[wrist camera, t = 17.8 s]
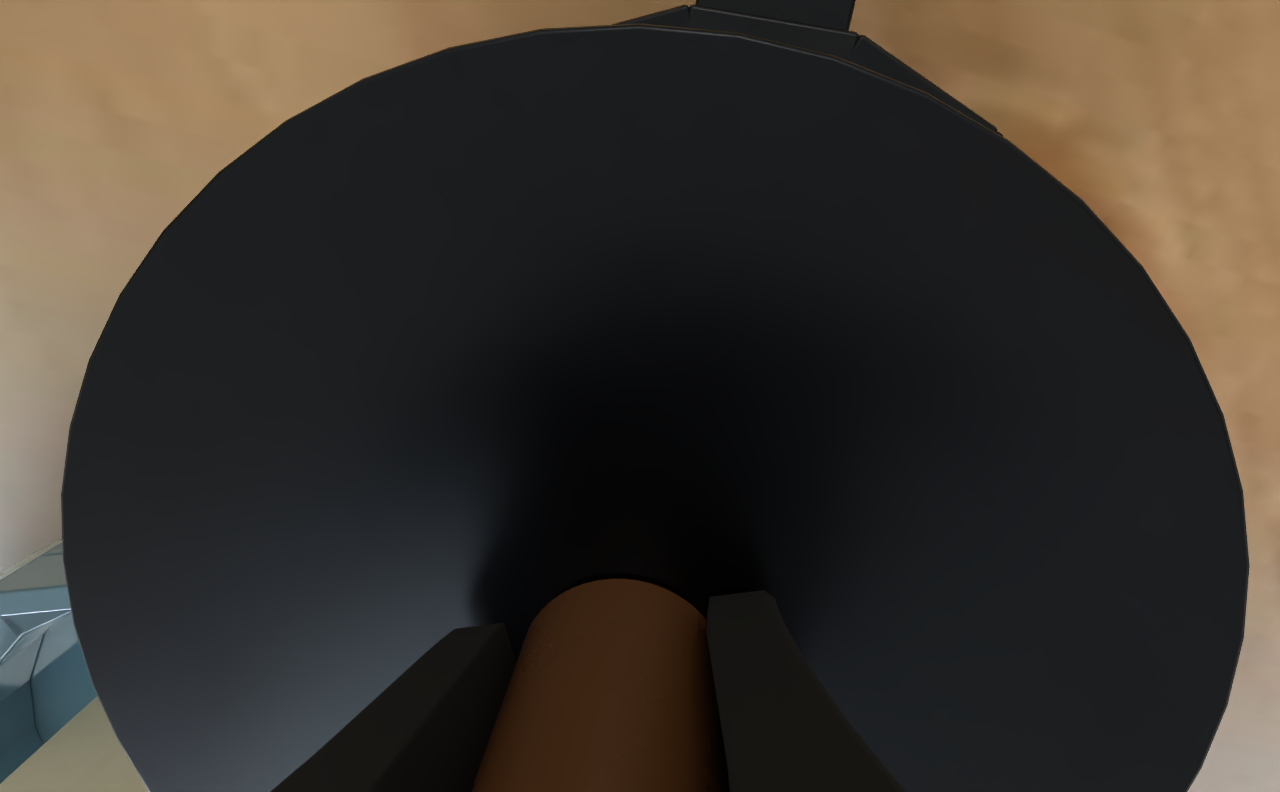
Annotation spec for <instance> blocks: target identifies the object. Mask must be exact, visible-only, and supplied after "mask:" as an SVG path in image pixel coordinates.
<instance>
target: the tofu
mask: <svg viewBox="0 0 1280 792" xmlns="http://www.w3.org/2000/svg"><path fill="white" fill-rule="evenodd" d="M0 792H149V790H148V789H147V787H146V785H145V784H144V782H143V781H142V779H141V777H140V776H139V774H138V772H137V771H136V769H135V767H134V766H133V764H132V763H131V761H130V759H129V758H128V756H127V754H126V753H125V751H124V749H123V748H122V746H121V745H120V743H119V741H118V739H117V737H116V735H115V733H114V731H113V729H112V726H111V724H110V722H109V720H108V718H107V715H106V713H105V711H104V709H103V707H102V704H101V702H100V700H99V698H98V696H97V697H95V698H94V699H93V700H92V701H91V702H90V703H89V704H88V705H87V706H85V707H84V708H83V709H82V710H81V711H80V712H79V713H78V714H77V715H76V716H74V717H73V718H72V719H71V720H70V721H69V722H68V723H67V724H66V725H65V726H63V727H62V728H61V729H60V730H59V731H58V732H57V733H56V734H55V735H54V736H52V737H51V738H50V739H49V740H48V741H47V742H46V743H45V744H44V745H42V746H41V747H40V748H39V749H38V750H37V751H36V752H35V753H34V754H33V755H31V756H30V757H29V758H28V759H27V760H26V761H25V762H24V763H23V764H22V765H20V766H19V767H18V768H17V769H16V770H15V771H14V772H13V773H12V774H10V775H9V776H8V777H7V778H6V779H5V780H4V781H3V782H2V783H1V784H0Z"/></svg>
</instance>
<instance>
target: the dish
mask: <svg viewBox="0 0 1280 792" xmlns="http://www.w3.org/2000/svg"><path fill="white" fill-rule="evenodd" d="M95 697H97V693H96V691H95V689H94V687H93V685H92V682H91V679H90V676H89V672H88V669H87V666H86V663H85V659H84V656H83V653H82V650H81V647H80V643H79V640H78V637H77V634H76V630H75V627H74V624H73V619H72V613H71V607H70V601H69V595H68V589H67V583H66V577H65V571H64V565H63V552H62V539H61V540H59V541H57V542H55V543H53V544H51V545H49V546H47V547H45V548H43V549H41V550H39V551H36V552H34V553H32V554H31V555H29V556H27V557H26V558H24V559H22V560H21V561H19V562H18V563H16V564H14V565H13V566H11V567H9V568H8V569H6V570H4V571H3V572H1V573H0V784H1V783H2V782H3V781H4V780H5V779H6V778H7V777H8V776H9V775H10V774H12V773H13V772H14V771H15V770H16V769H17V768H18V767H19V766H20V765H22V764H23V763H24V762H25V761H26V760H27V759H28V758H29V757H30V756H31V755H33V754H34V753H35V752H36V751H37V750H38V749H39V748H40V747H41V746H42V745H44V744H45V743H46V742H47V741H48V740H49V739H50V738H51V737H52V736H54V735H55V734H56V733H57V732H58V731H59V730H60V729H61V728H62V727H63V726H65V725H66V724H67V723H68V722H69V721H70V720H71V719H72V718H73V717H74V716H76V715H77V714H78V713H79V712H80V711H81V710H82V709H83V708H84V707H85V706H87V705H88V704H89V703H90V702H91V701H92V700H93V699H94V698H95Z"/></svg>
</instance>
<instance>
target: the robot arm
mask: <svg viewBox="0 0 1280 792" xmlns="http://www.w3.org/2000/svg"><path fill="white" fill-rule="evenodd" d="M706 632H707V639H708V645H709V652H710V658H711V665H712V671H713V677H714V684H715V690H716V696H717V703H718V709H719V715H720V722H721V728H722V735H723V741H724V747H725V754H726V760H727V766H728V776H729V787H730V792H906V791H905V789H904V788H903V787H902V786H901V785H900V784H899V783H898V781H897V780H896V779H895V778H894V777H893V775H892V774H891V773H890V772H889V771H888V769H887V768H886V767H885V766H884V765H883V763H882V762H881V761H880V760H879V759H878V757H877V756H876V755H875V754H874V753H873V751H872V750H871V749H870V748H869V747H868V745H867V744H866V743H865V742H864V740H863V739H862V738H861V736H860V735H859V734H858V733H857V731H856V730H855V729H854V727H853V726H852V725H851V724H850V722H849V721H848V720H847V718H846V717H845V715H844V714H843V713H842V711H841V710H840V709H839V707H838V706H837V704H836V703H835V702H834V700H833V699H832V697H831V696H830V695H829V693H828V692H827V690H826V689H825V688H824V686H823V685H822V683H821V682H820V681H819V679H818V678H817V676H816V675H815V673H814V672H813V670H812V669H811V667H810V666H809V664H808V663H807V661H806V659H805V658H804V656H803V654H802V653H801V651H800V650H799V648H798V646H797V645H796V643H795V641H794V640H793V638H792V636H791V634H790V632H789V630H788V629H787V627H786V625H785V623H784V621H783V619H782V616H781V614H780V612H779V609H778V607H777V604H776V600H775V598H774V597H773V596H771V595H770V594H768V593H767V592H766V591H764V590H761V591H753V592H745V593H737V594H729V595H721V596H713V597H709V605H708V613H707V628H706ZM515 665H516V663H515V659H514V655H513V652H512V648H511V645H510V641H509V638H508V634H507V631H506V627H505V624H504V623H496V624H488V625H480V626H472V627H464V628H456V629H454V630H453V631H451V632H450V633H449V634H447V635H446V636H445V637H444V638H442V639H441V640H440V641H439V642H437V643H436V644H435V645H434V646H433V647H432V648H431V649H429V650H428V651H427V652H426V653H425V654H424V655H423V656H421V657H420V658H419V659H418V660H417V661H416V662H415V663H414V664H413V665H411V666H410V667H409V668H408V669H407V670H406V671H405V672H404V673H403V674H402V675H401V676H399V677H398V678H397V679H396V680H395V681H394V682H393V683H392V684H391V685H390V686H389V687H387V688H386V689H385V690H384V691H383V692H382V693H381V694H380V695H379V696H378V697H377V698H376V699H374V700H373V701H372V702H371V703H370V704H369V705H368V706H367V707H366V708H365V709H363V710H362V711H361V712H360V713H359V714H358V715H357V716H356V717H355V718H354V719H352V720H351V721H350V722H349V723H348V724H347V725H346V726H345V727H344V728H343V729H342V730H340V731H339V732H338V733H337V734H336V735H335V736H334V737H333V738H332V739H331V740H329V741H328V742H327V743H326V744H325V745H324V746H323V747H322V748H321V749H319V750H318V751H317V752H316V753H315V754H314V755H313V756H312V757H310V758H309V759H308V760H307V761H306V762H305V763H303V764H302V765H301V766H300V767H299V768H297V769H296V770H295V771H294V772H293V773H292V774H290V775H289V776H288V777H287V778H286V779H285V780H283V781H282V782H281V783H280V784H279V785H277V786H276V787H275V788H274V789H273V790H272V791H270V792H471V789H472V786H473V783H474V781H475V778H476V775H477V772H478V769H479V767H480V764H481V761H482V758H483V755H484V752H485V750H486V747H487V744H488V741H489V738H490V736H491V733H492V730H493V727H494V724H495V721H496V719H497V716H498V713H499V710H500V707H501V705H502V702H503V699H504V696H505V693H506V690H507V688H508V685H509V682H510V679H511V676H512V674H513V671H514V668H515Z"/></svg>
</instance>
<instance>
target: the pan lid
mask: <svg viewBox="0 0 1280 792" xmlns="http://www.w3.org/2000/svg"><path fill="white" fill-rule="evenodd" d="M61 508H62V552H63V565H64V571H65V577H66V583H67V589H68V595H69V601H70V607H71V613H72V619H73V624H74V627H75V630H76V634H77V637H78V640H79V643H80V647H81V650H82V653H83V656H84V659H85V663H86V666H87V669H88V672H89V676H90V679H91V682H92V685H93V687H94V689H95V691H96V693H97V696H98V698H99V700H100V702H101V704H102V707H103V709H104V711H105V713H106V715H107V718H108V720H109V722H110V724H111V726H112V729H113V731H114V733H115V735H116V737H117V739H118V741H119V743H120V745H121V746H122V748H123V749H124V751H125V753H126V754H127V756H128V758H129V759H130V761H131V763H132V764H133V766H134V767H135V769H136V771H137V772H138V774H139V776H140V777H141V779H142V781H143V782H144V784H145V785H146V787H147V789H148V790H149V792H270V791H272V790H273V789H274V788H275V787H276V786H277V785H279V784H280V783H281V782H282V781H283V780H285V779H286V778H287V777H288V776H289V775H290V774H292V773H293V772H294V771H295V770H296V769H297V768H299V767H300V766H301V765H302V764H303V763H305V762H306V761H307V760H308V759H309V758H310V757H312V756H313V755H314V754H315V753H316V752H317V751H318V750H319V749H321V748H322V747H323V746H324V745H325V744H326V743H327V742H328V741H329V740H331V739H332V738H333V737H334V736H335V735H336V734H337V733H338V732H339V731H340V730H342V729H343V728H344V727H345V726H346V725H347V724H348V723H349V722H350V721H351V720H352V719H354V718H355V717H356V716H357V715H358V714H359V713H360V712H361V711H362V710H363V709H365V708H366V707H367V706H368V705H369V704H370V703H371V702H372V701H373V700H374V699H376V698H377V697H378V696H379V695H380V694H381V693H382V692H383V691H384V690H385V689H386V688H387V687H389V686H390V685H391V684H392V683H393V682H394V681H395V680H396V679H397V678H398V677H399V676H401V675H402V674H403V673H404V672H405V671H406V670H407V669H408V668H409V667H410V666H411V665H413V664H414V663H415V662H416V661H417V660H418V659H419V658H420V657H421V656H423V655H424V654H425V653H426V652H427V651H428V650H429V649H431V648H432V647H433V646H434V645H435V644H436V643H437V642H439V641H440V640H441V639H442V638H444V637H445V636H446V635H447V634H449V633H450V632H451V631H453V630H454V629H456V628H464V627H472V626H480V625H488V624H496V623H504V624H505V627H506V631H507V634H508V638H509V641H510V645H511V648H512V652H513V655H514V659H515V663H516V665H515V668H514V671H513V674H512V676H511V679H510V682H509V685H508V688H507V690H506V693H505V696H504V699H503V702H502V705H501V707H500V710H499V713H498V716H497V719H496V721H495V724H494V727H493V730H492V733H491V736H490V738H489V741H488V744H487V747H486V750H485V752H484V755H483V758H482V761H481V764H480V767H479V769H478V772H477V775H476V778H475V781H474V783H473V786H472V789H471V792H730V787H729V776H728V766H727V760H726V754H725V747H724V741H723V735H722V728H721V722H720V715H719V709H718V703H717V696H716V690H715V684H714V677H713V671H712V665H711V658H710V652H709V645H708V639H707V632H706V628H707V613H708V605H709V597H713V596H721V595H729V594H737V593H745V592H753V591H761V590H764V591H766V592H767V593H768V594H770V595H771V596H773V597H774V598H775V600H776V604H777V607H778V609H779V612H780V614H781V616H782V619H783V621H784V623H785V625H786V627H787V629H788V630H789V632H790V634H791V636H792V638H793V640H794V641H795V643H796V645H797V646H798V648H799V650H800V651H801V653H802V654H803V656H804V658H805V659H806V661H807V663H808V664H809V666H810V667H811V669H812V670H813V672H814V673H815V675H816V676H817V678H818V679H819V681H820V682H821V683H822V685H823V686H824V688H825V689H826V690H827V692H828V693H829V695H830V696H831V697H832V699H833V700H834V702H835V703H836V704H837V706H838V707H839V709H840V710H841V711H842V713H843V714H844V715H845V717H846V718H847V720H848V721H849V722H850V724H851V725H852V726H853V727H854V729H855V730H856V731H857V733H858V734H859V735H860V736H861V738H862V739H863V740H864V742H865V743H866V744H867V745H868V747H869V748H870V749H871V750H872V751H873V753H874V754H875V755H876V756H877V757H878V759H879V760H880V761H881V762H882V763H883V765H884V766H885V767H886V768H887V769H888V771H889V772H890V773H891V774H892V775H893V777H894V778H895V779H896V780H897V781H898V783H899V784H900V785H901V786H902V787H903V788H904V789H905V791H906V792H1187V791H1188V790H1189V788H1190V786H1191V785H1192V783H1193V781H1194V779H1195V778H1196V776H1197V774H1198V773H1199V771H1200V769H1201V768H1202V765H1203V763H1204V760H1205V758H1206V756H1207V753H1208V751H1209V748H1210V746H1211V743H1212V741H1213V739H1214V736H1215V734H1216V731H1217V729H1218V726H1219V724H1220V722H1221V719H1222V717H1223V714H1224V712H1225V709H1226V707H1227V704H1228V700H1229V696H1230V692H1231V688H1232V684H1233V679H1234V675H1235V671H1236V667H1237V663H1238V659H1239V655H1240V650H1241V646H1242V642H1243V638H1244V627H1245V614H1246V601H1247V588H1248V575H1249V557H1248V545H1247V533H1246V522H1245V510H1244V498H1243V490H1242V486H1241V482H1240V478H1239V474H1238V470H1237V466H1236V462H1235V458H1234V455H1233V451H1232V447H1231V443H1230V439H1229V435H1228V431H1227V427H1226V423H1225V419H1224V415H1223V413H1222V411H1221V409H1220V406H1219V404H1218V402H1217V400H1216V397H1215V395H1214V393H1213V390H1212V388H1211V386H1210V384H1209V381H1208V379H1207V377H1206V375H1205V372H1204V370H1203V368H1202V366H1201V363H1200V361H1199V359H1198V356H1197V354H1196V352H1195V350H1194V347H1193V345H1192V343H1191V341H1190V338H1189V337H1188V335H1187V334H1186V332H1185V331H1184V329H1183V328H1182V326H1181V324H1180V323H1179V321H1178V320H1177V318H1176V317H1175V315H1174V314H1173V312H1172V311H1171V309H1170V308H1169V306H1168V305H1167V303H1166V301H1165V300H1164V298H1163V297H1162V295H1161V294H1160V292H1159V291H1158V289H1157V288H1156V286H1155V285H1154V283H1153V282H1152V280H1151V278H1150V277H1149V275H1148V274H1147V272H1146V271H1145V269H1144V268H1143V266H1142V265H1141V264H1140V263H1139V262H1138V261H1137V260H1136V259H1135V257H1134V256H1133V255H1132V254H1131V253H1130V252H1129V251H1128V250H1127V249H1126V247H1125V246H1124V245H1123V244H1122V243H1121V242H1120V241H1119V240H1118V239H1117V238H1116V236H1115V235H1114V234H1113V233H1112V232H1111V231H1110V230H1109V229H1108V228H1107V227H1106V225H1105V224H1104V223H1103V222H1102V221H1101V220H1100V219H1099V218H1098V217H1097V215H1096V214H1095V213H1094V212H1093V211H1092V210H1091V209H1090V208H1089V207H1088V206H1087V204H1086V203H1085V202H1084V201H1083V200H1082V199H1081V198H1079V197H1078V196H1077V195H1076V194H1074V193H1073V192H1072V191H1071V190H1070V189H1068V188H1067V187H1066V186H1065V185H1063V184H1062V183H1061V182H1060V181H1058V180H1057V179H1056V178H1055V177H1053V176H1052V175H1051V174H1050V173H1048V172H1047V171H1046V170H1045V169H1044V168H1042V167H1041V166H1040V165H1039V164H1037V163H1036V162H1035V161H1034V160H1032V159H1031V158H1030V157H1029V156H1027V155H1026V154H1025V153H1024V152H1023V151H1021V150H1020V149H1019V148H1018V147H1016V146H1015V145H1014V144H1013V143H1011V142H1010V141H1009V140H1007V139H1005V138H1003V137H1002V136H1000V135H998V134H997V133H995V132H993V131H991V130H990V129H988V128H986V127H985V126H983V125H981V124H980V123H978V122H976V121H974V120H973V119H971V118H969V117H968V116H966V115H964V114H962V113H961V112H959V111H957V110H956V109H954V108H952V107H950V106H949V105H947V104H945V103H944V102H942V101H940V100H938V99H937V98H935V97H933V96H932V95H930V94H928V93H926V92H924V91H921V90H919V89H916V88H914V87H912V86H909V85H907V84H904V83H902V82H899V81H897V80H894V79H892V78H889V77H887V76H884V75H882V74H879V73H877V72H874V71H872V70H869V69H867V68H864V67H862V66H859V65H857V64H854V63H852V62H849V61H847V60H844V59H842V58H839V57H837V56H834V55H829V54H825V53H821V52H817V51H813V50H809V49H805V48H800V47H796V46H792V45H788V44H784V43H780V42H775V41H771V40H767V39H763V38H759V37H755V36H751V35H746V34H742V33H737V32H726V31H716V30H705V29H694V28H683V27H672V26H661V25H650V24H621V25H603V26H584V27H565V28H546V29H538V30H533V31H528V32H523V33H518V34H514V35H509V36H504V37H499V38H494V39H489V40H484V41H479V42H474V43H469V44H464V45H459V46H454V47H449V48H446V49H444V50H441V51H438V52H435V53H433V54H430V55H427V56H424V57H421V58H419V59H416V60H413V61H410V62H408V63H405V64H402V65H399V66H397V67H394V68H391V69H388V70H386V71H383V72H380V73H377V74H375V75H372V76H369V77H366V78H364V79H361V80H360V81H358V82H356V83H354V84H352V85H350V86H349V87H347V88H345V89H343V90H341V91H339V92H338V93H336V94H334V95H332V96H330V97H328V98H327V99H325V100H323V101H321V102H319V103H317V104H316V105H314V106H312V107H310V108H308V109H306V110H305V111H303V112H301V113H299V114H297V115H295V116H294V117H292V118H290V119H288V120H286V121H285V122H283V123H282V124H281V125H280V126H278V127H277V128H276V129H274V130H273V131H272V132H270V133H269V134H268V135H267V136H265V137H264V138H263V139H261V140H260V141H259V142H257V143H256V144H255V145H254V146H252V147H251V148H250V149H248V150H247V151H246V152H244V153H243V154H242V155H240V156H239V157H238V158H237V159H235V160H234V161H233V162H231V163H230V164H229V165H227V166H226V167H225V168H224V169H222V170H221V171H220V172H219V173H218V174H217V175H216V176H215V177H214V178H213V179H212V180H211V181H210V182H209V183H208V184H207V185H206V186H205V187H204V188H203V189H202V190H201V192H200V193H199V194H198V195H197V196H196V197H195V198H194V199H193V200H192V201H191V202H190V203H189V204H188V205H187V206H186V207H185V208H184V209H183V211H182V212H181V213H180V214H179V215H178V216H177V217H176V218H175V219H174V220H173V221H172V222H171V223H170V224H169V225H168V226H167V227H166V228H165V230H164V231H163V232H162V233H161V235H160V236H159V238H158V239H157V241H156V242H155V244H154V245H153V247H152V248H151V250H150V251H149V253H148V254H147V255H146V257H145V258H144V260H143V261H142V263H141V264H140V266H139V267H138V269H137V270H136V272H135V273H134V274H133V276H132V277H131V279H130V280H129V282H128V283H127V285H126V286H125V288H124V289H123V291H122V292H121V294H120V295H119V297H118V300H117V302H116V304H115V306H114V308H113V310H112V312H111V314H110V317H109V319H108V321H107V323H106V325H105V327H104V329H103V331H102V334H101V336H100V338H99V340H98V342H97V344H96V346H95V349H94V351H93V353H92V355H91V357H90V359H89V362H88V365H87V369H86V372H85V376H84V379H83V383H82V386H81V390H80V393H79V397H78V400H77V404H76V407H75V411H74V414H73V417H72V421H71V424H70V429H69V437H68V444H67V452H66V460H65V468H64V476H63V484H62V492H61Z"/></svg>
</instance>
